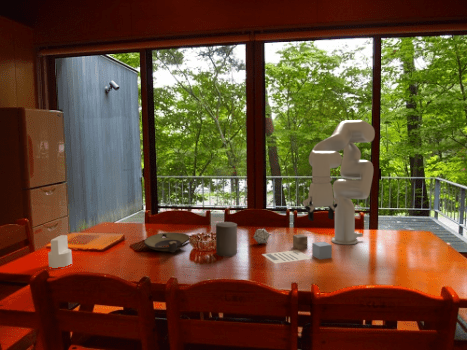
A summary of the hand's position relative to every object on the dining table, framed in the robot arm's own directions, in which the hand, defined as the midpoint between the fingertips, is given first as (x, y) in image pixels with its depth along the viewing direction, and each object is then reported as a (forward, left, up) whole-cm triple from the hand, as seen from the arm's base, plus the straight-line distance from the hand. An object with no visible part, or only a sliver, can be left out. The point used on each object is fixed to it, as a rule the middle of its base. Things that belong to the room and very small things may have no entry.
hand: (321, 219), depth 166 cm
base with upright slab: (+108, -31, -17) cm, 113 cm away
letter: (+14, -6, -17) cm, 22 cm away
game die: (+16, -30, -17) cm, 37 cm away
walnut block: (+2, -16, -17) cm, 23 cm away
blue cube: (0, 0, -17) cm, 17 cm away
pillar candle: (+37, -21, -17) cm, 45 cm away
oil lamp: (+62, -37, -17) cm, 74 cm away
